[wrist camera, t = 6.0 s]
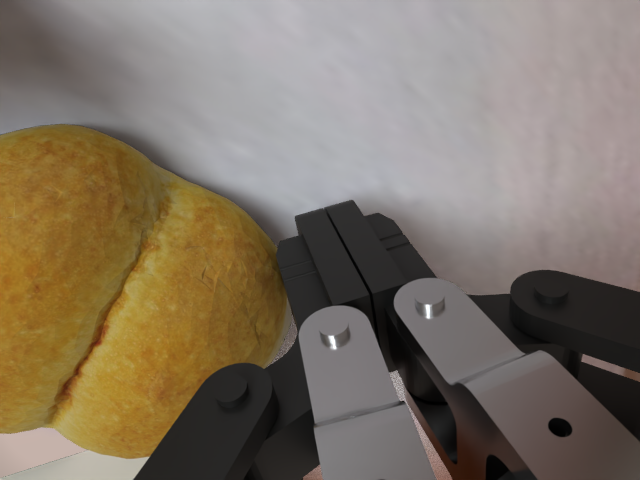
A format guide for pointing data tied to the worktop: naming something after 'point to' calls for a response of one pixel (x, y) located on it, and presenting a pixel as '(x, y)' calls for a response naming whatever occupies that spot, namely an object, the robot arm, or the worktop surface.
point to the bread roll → (121, 290)
